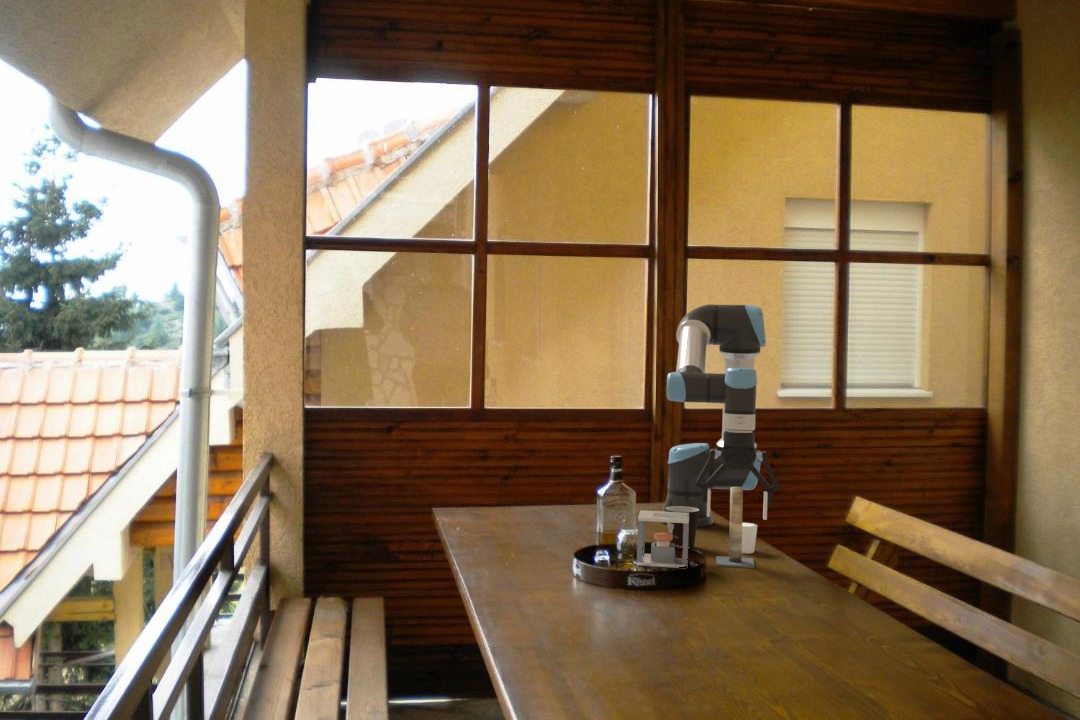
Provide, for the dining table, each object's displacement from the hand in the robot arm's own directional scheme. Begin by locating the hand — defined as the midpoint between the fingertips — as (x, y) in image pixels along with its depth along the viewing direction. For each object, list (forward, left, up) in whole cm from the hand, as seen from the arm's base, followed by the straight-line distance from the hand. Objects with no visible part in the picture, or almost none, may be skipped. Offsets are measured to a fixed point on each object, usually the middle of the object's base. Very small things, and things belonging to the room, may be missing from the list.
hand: (736, 517), depth 253 cm
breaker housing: (+4, -18, -11) cm, 21 cm away
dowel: (0, 0, -11) cm, 11 cm away
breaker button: (+4, -18, -10) cm, 21 cm away
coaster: (0, 0, -11) cm, 11 cm away
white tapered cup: (-15, +2, -11) cm, 19 cm away
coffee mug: (-17, -14, -11) cm, 25 cm away
